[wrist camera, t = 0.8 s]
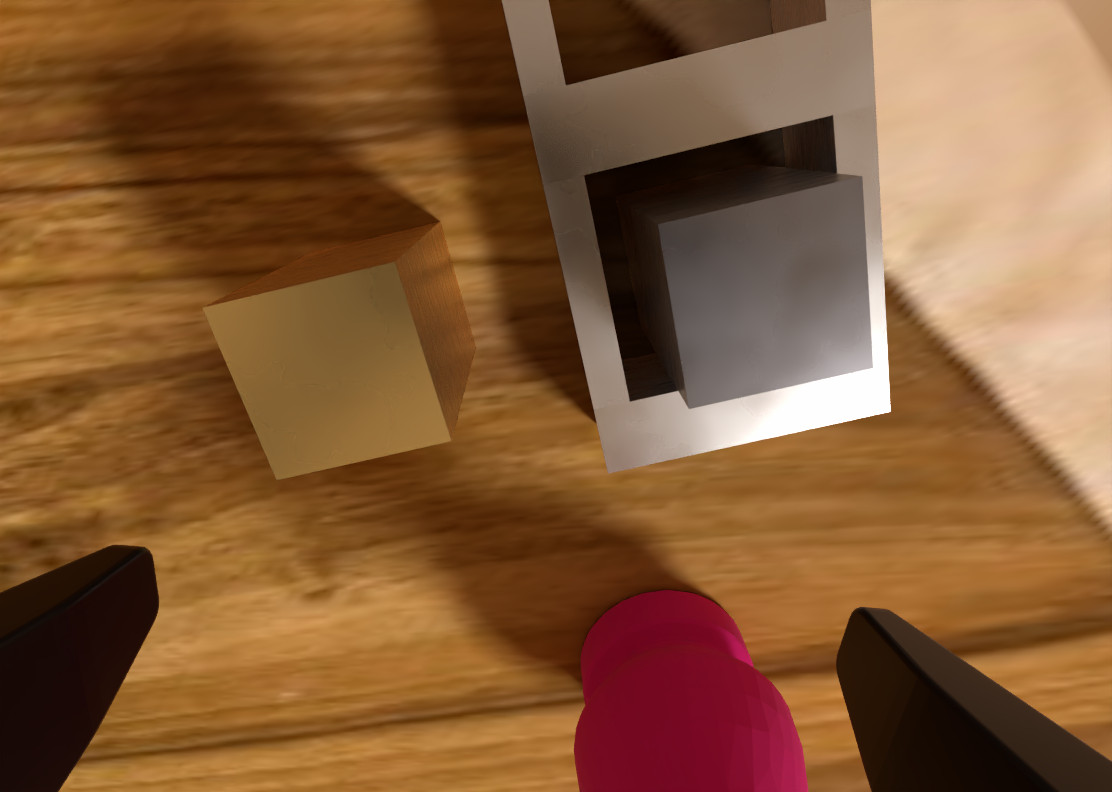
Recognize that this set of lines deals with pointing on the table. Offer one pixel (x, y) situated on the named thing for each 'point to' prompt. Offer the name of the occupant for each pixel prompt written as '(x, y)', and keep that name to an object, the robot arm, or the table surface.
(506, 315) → the table surface
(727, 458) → the table surface
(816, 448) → the table surface
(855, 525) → the table surface
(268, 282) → the wooden toy block
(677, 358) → the grey slotted block holder
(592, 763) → the pepper mill
